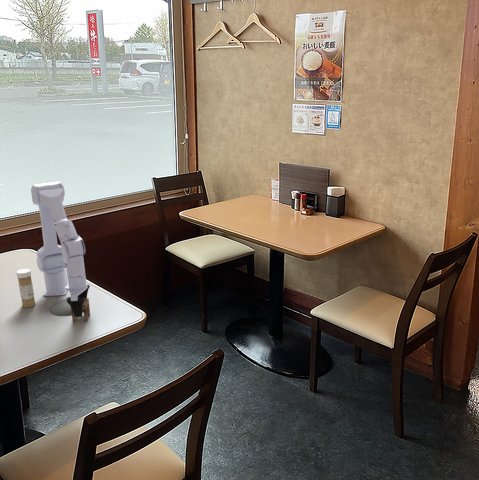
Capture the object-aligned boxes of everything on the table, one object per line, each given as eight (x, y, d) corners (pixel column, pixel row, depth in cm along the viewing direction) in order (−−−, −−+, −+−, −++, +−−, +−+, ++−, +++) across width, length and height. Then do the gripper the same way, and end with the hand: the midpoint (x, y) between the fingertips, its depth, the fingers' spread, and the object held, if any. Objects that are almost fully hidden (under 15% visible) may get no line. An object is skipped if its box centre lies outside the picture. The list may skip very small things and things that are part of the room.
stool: (75, 314, 175) (73, 298, 174) (90, 314, 176) (88, 298, 174) (72, 321, 171) (70, 305, 169) (87, 320, 171) (85, 304, 169)
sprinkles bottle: (32, 301, 186) (26, 267, 182) (37, 305, 183) (32, 270, 179) (19, 305, 183) (14, 270, 179) (25, 309, 180) (19, 274, 176)
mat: (55, 299, 187) (55, 298, 187) (91, 298, 188) (91, 296, 188) (45, 316, 175) (45, 314, 174) (84, 314, 176) (84, 312, 176)
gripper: (68, 266, 175) (72, 302, 179) (58, 283, 161) (64, 322, 165) (89, 265, 175) (93, 301, 180) (81, 282, 162) (86, 320, 166)
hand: (80, 311), depth 172 cm, fingers open, 7 cm apart
